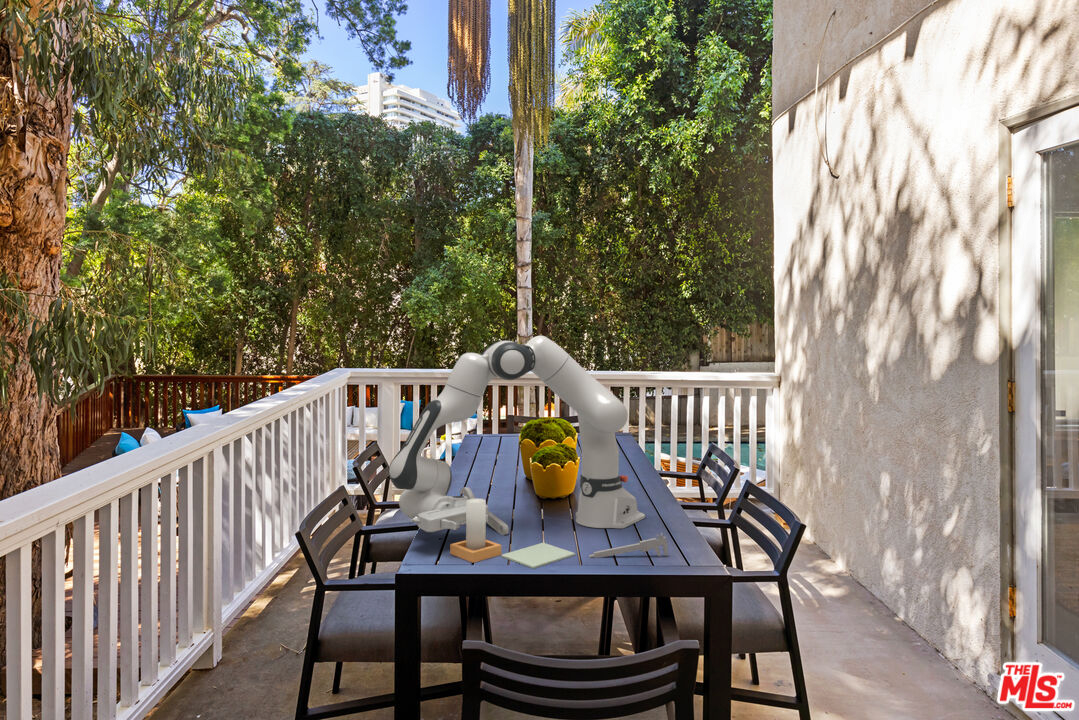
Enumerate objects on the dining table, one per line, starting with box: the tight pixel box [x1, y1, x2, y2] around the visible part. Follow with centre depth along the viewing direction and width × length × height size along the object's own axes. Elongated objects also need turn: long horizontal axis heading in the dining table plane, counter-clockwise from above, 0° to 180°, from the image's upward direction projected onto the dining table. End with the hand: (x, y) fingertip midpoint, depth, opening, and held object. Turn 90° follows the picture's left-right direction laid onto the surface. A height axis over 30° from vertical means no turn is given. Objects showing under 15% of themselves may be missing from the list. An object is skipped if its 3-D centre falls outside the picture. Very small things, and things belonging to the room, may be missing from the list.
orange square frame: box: [449, 539, 502, 564], centre depth 188 cm, size 9×9×2 cm
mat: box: [500, 542, 576, 570], centre depth 187 cm, size 15×12×1 cm
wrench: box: [459, 486, 510, 536], centre depth 217 cm, size 8×2×30 cm
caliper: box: [588, 532, 669, 559], centre depth 187 cm, size 20×1×6 cm, turn 94°
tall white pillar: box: [465, 498, 487, 551], centre depth 188 cm, size 5×5×14 cm
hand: (471, 522), depth 189 cm, fingers open, 8 cm apart
